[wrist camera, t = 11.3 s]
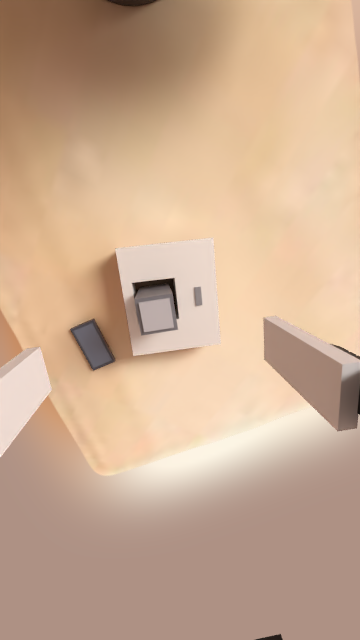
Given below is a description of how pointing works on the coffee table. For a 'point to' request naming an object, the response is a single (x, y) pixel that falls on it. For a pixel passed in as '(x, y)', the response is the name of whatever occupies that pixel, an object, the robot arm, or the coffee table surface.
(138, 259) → the outlet plate
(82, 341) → the phone
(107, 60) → the coffee table surface
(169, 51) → the coffee table surface
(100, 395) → the coffee table surface
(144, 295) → the block
